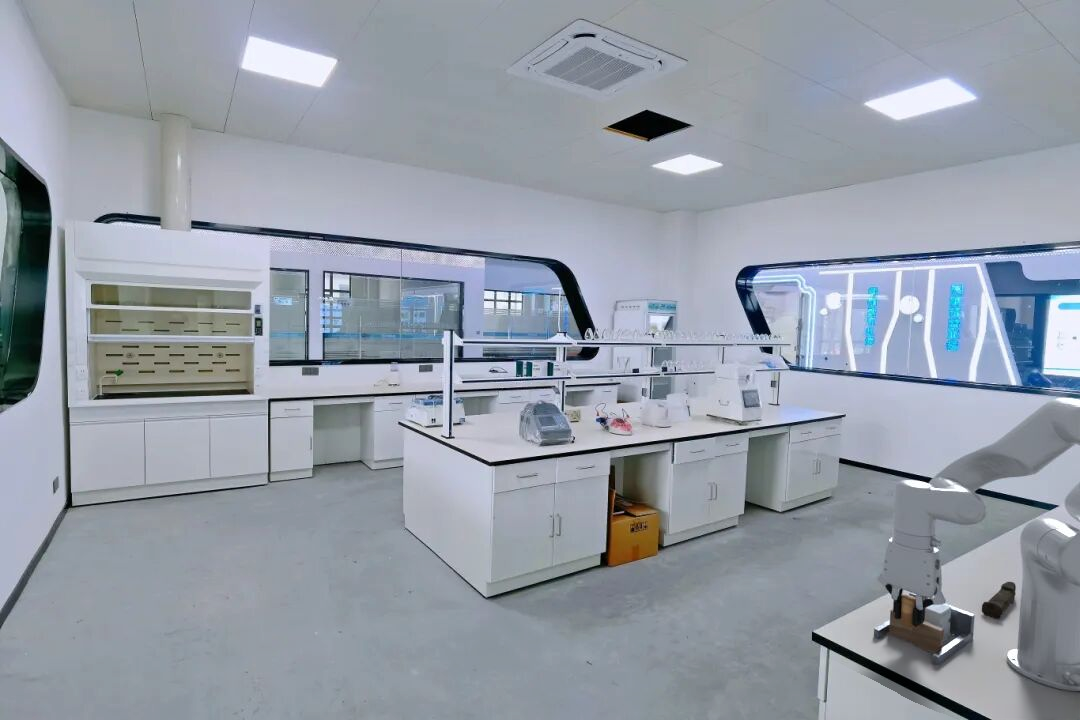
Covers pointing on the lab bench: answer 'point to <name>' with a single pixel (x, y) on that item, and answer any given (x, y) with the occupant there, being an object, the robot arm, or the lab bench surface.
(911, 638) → the sliding jaw
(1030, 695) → the lab bench surface
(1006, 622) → the lab bench surface
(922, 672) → the lab bench surface
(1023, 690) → the lab bench surface
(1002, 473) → the robot arm
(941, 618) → the skincare box
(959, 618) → the clamp frame
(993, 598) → the hand tool
